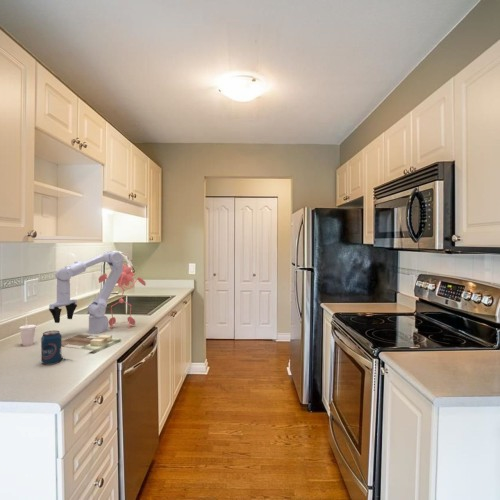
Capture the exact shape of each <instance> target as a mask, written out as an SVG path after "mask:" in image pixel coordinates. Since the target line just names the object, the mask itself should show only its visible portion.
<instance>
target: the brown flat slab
mask: <svg viewBox="0 0 500 500" xmlns="http://www.w3.org/2000/svg"><path fill="white" fill-rule="evenodd" d="M99 336H100V335H99ZM99 336H98V335H95V338H97V337H99ZM95 338H93V337H92V335H90V334H81V333H80V334H77V335H74V336H72V337H68V338H66V339H63V340H62V339H61V348H66V346H67V345H72V347H71V346H68V348H69V349H75V347H73V346H81V347H76V349H80V350H87V351H88V350H89V352H88V354H92V355H94V354H97V353H98V352H101V351H104V350H105V349H107V348H108V349H109V348H110V347H112V346H114V345H117V344H119V343H121V342H122V340H121V339H122V338H119V337H112V341H110V342H109V343H107V344H105V345H103V346H101V347H98V346H90V340H93V339H95Z"/></svg>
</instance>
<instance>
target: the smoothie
mask: <svg viewBox="0 0 500 500" xmlns="http://www.w3.org/2000/svg"><path fill="white" fill-rule="evenodd" d="M36 329H37V325H36V324H28V316H25V325H22V326H19V331H20V337H21V343H22V347H23V346H24V347H28V346H32V345H33V344H34V341H35V335H36V334H35V333H36Z"/></svg>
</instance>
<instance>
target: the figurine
mask: <svg viewBox="0 0 500 500" xmlns="http://www.w3.org/2000/svg"><path fill="white" fill-rule="evenodd" d="M132 270H133V267H132V266H128V265H127V264H123V271H122V273H121V275H120V277H119V279H118V281H117V283H116V284H117V285H115V287H114V288H116V287H119V288H121V289H122V294H121V297H120V299H119V298H118V301H117V302H116V303H114V304H112V305H111V306H110V312H111V317H110V318H109V319H108V326H110V327H111V330H112V329H113V326H114V325H115V324H116V323H117V322H116V321H117V319H116V317H114V316H113V308H112V307H114V306H116V305H117V304H123V303H125V304H127V305H128V306H130V311H129V316H128V317H127V322H129V323H128V327H127V328H128V329H130V324H131V325H132V326H135V325H136V320H135V318H133V317H132V316H131V315H132V314H131V313H132V312H131V311H132V305H131V304H130V303H128V302H126V301H125V300H124V299H123V297H124V292H125V289H129V290H131V289H132V287H133V286H134V284H136V282H137V281H138V282H139V283H140V284H141V285H143V286H146V283H147V282H146V281H145V280H144V279H143V278H142V277H139V276H137V278H136V279H135V281H134V276H135V273H134V272H133V271H132ZM107 278H108V275H107V273H105V272H104V273H103V274H101V275H99V277H98V283H103V282H104V281H106V280H107ZM130 282H133V283H132V284H131V285H130ZM124 285H125V286H124ZM128 286H130V287H128ZM123 323H126V322H125V321H122V322H121V324H123Z"/></svg>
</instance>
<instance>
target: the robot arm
mask: <svg viewBox="0 0 500 500" xmlns="http://www.w3.org/2000/svg"><path fill="white" fill-rule="evenodd" d="M100 263H107V264H108V265H109V268H110V270H111V271H110V272H109V275H107V280H106V279H105V282H104V283H103V286H102V287H101V289H100V291H99V292H98V295H97V297H95V299H93V301H92V302H91V303H90V304H89V305H88V306H87V310H86V311H87V314H88V333H89V334H99V333H103V332H105V331H109V318H108V316H106V310H107V306H108V300H109V298H110V296H111V294H112V292H113V291H114V288H116V287H115V286H117V285H116V284H118V283H117V281H118V279H119V277H120V275H121V273H122V271H123V265H124V256H123V254H122V253H120V252H119V251H107V252H103V253H101V254H98V255H96V256H94V257H92V258H89V259H87V260H85V261H80V260H79V261H77V260H76V261H74V263H72V264H69V265H65V266H64V268H63V267H61V268H58V269H57V270H56V271H55V274H54V278H56V301H55V302H53V303H51V304H49V307H48V311H49V312H50V313H51V315H52V318H53V321H54V323H55V324H60V321H61V313H62V308H61V307H65V310H66V316H67V317H66V318H67V320H73V316H74V313H75V310H76V309H77V307H78V304H77V301H78V300H77V299H74V298H73V299H71V283H70V281H71V280H70V279H72V277H75V276H77V275H80V274H82V273H84V272H86V271H87V269H88V268H90V267H92V266H95V265H98V264H100Z"/></svg>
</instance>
